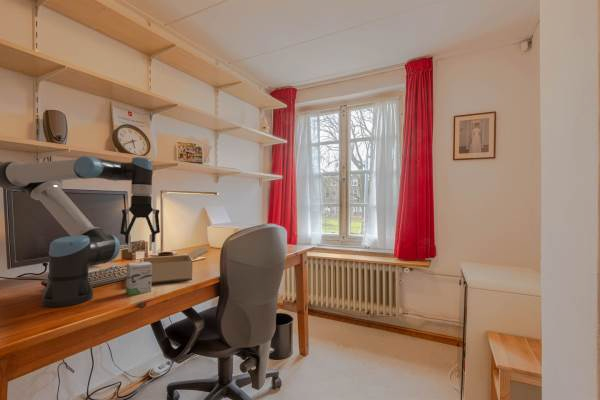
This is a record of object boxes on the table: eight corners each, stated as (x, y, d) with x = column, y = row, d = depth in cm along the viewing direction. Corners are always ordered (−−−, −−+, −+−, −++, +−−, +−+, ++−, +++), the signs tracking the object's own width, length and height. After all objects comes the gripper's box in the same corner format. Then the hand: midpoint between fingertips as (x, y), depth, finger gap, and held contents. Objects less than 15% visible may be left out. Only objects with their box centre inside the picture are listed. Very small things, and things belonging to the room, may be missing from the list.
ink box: (128, 295, 115) (129, 266, 115) (125, 292, 119) (126, 263, 119) (152, 291, 121) (152, 263, 121) (148, 288, 125) (149, 261, 125)
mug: (180, 271, 155) (181, 253, 155) (167, 274, 149) (167, 255, 149) (167, 268, 162) (168, 251, 162) (154, 270, 155) (154, 253, 155)
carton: (134, 287, 125) (134, 266, 125) (134, 275, 144) (135, 257, 144) (193, 281, 137) (193, 261, 137) (186, 271, 156) (186, 253, 156)
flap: (192, 258, 141) (208, 250, 144) (188, 253, 153) (202, 246, 156) (193, 259, 141) (208, 251, 144) (188, 254, 153) (203, 247, 156)
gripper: (112, 194, 112) (110, 254, 112) (168, 195, 122) (167, 250, 121) (113, 194, 118) (112, 250, 118) (167, 196, 128) (165, 248, 128)
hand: (140, 250), depth 120 cm, fingers open, 7 cm apart
